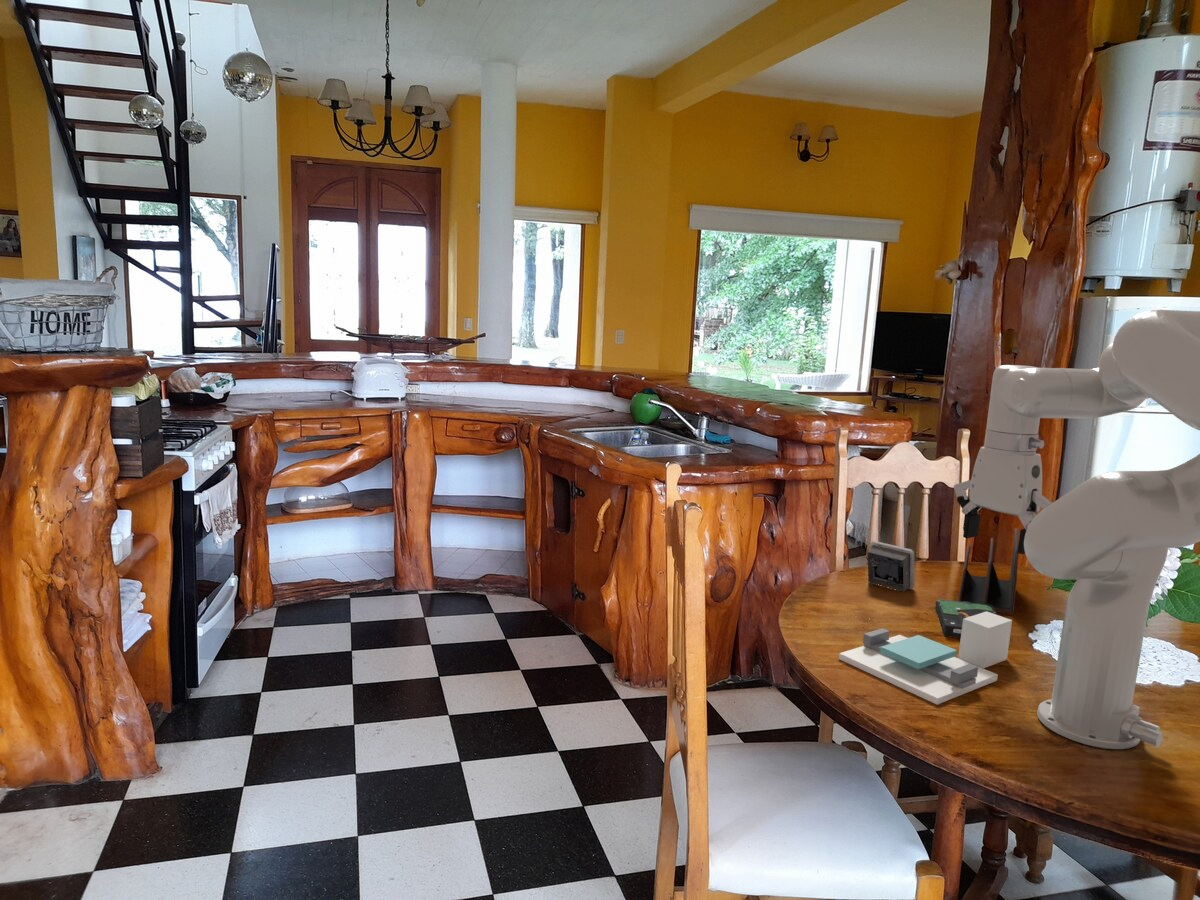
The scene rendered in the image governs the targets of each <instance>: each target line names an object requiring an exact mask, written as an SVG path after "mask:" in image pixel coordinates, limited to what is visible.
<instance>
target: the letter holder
mask: <svg viewBox="0 0 1200 900" xmlns="http://www.w3.org/2000/svg"><path fill="white" fill-rule="evenodd" d="M1019 537H1020V531H1019V528H1017V527H1015V528H1014V534H1013V545H1012V555H1011V557H1012V558H1011V566H1010V567H1011V568H1010V576H1009V580H1006V579H999V577H998V574H997V571H996V567H995V566H994V563H993V559H994V551H995V550H994V547H995V539H994V538H995V537H991V538H990V544H989V552H988V559H987V560H988V561H987V569H986V570H987V571H986V576H980V575H979V576H978V575H974V574H971V573H970V572H969V569H968V565H969V558H970V552H971V547H972V546H970V545H967V547H966V551H965V552H966V553H965V558H964V559H965V560H964V563H963V564H964V565H963V569H962V576H961V582H960V588H959V593H958V600H957V601H958V602H963V601H964V602H971V603H979V604H987V605H992V606H993V608H994V609H995V611H996V613H999V614H1003V615H1008V616H1009V615H1010V616H1013V614H1014V612H1015V599H1016V591H1017V590H1016V589H1017V582H1018V581H1017V580H1018V566H1019V555H1020V554H1019V553H1018V544H1019Z"/></svg>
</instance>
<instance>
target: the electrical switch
mask: <svg viewBox="0 0 1200 900" xmlns="http://www.w3.org/2000/svg"><path fill="white" fill-rule="evenodd" d="M866 553H867V576H868V577H867V578H868V579H867V580H868V582H867V583H868V584H870V583H871V585H874V584H877V585H878V584H879V585H882V586H884V587H883V588H885V587H889V588H892V589H896V590H899V591H898V592H900V591H903V592H902V593H905V592H906V591H907V590H909V589H911V590H910V591H912V590H913V589H914V588H915V586H916V585H915V584H916V582H915V581H916V580H915V579H916V577H915V575H916V574H915V564H916V563H915V551H914V550H913V549H911V548H906V547H902V546H898V545H894V544H890V543H889V544H888V543H884V542H880V541H876V540H873V541H871V542H870V543H869V550H867V552H866ZM887 583H888V584H887ZM877 585H876V586H877ZM889 588H888V589H889ZM892 589H891V590H892ZM896 590H895V591H896Z"/></svg>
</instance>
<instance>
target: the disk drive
mask: <svg viewBox="0 0 1200 900" xmlns="http://www.w3.org/2000/svg"><path fill="white" fill-rule="evenodd" d="M934 609H935V613H937V614H936V615H938V616H937V619H938V618H939V619H938V622H939V621H940V622H939V624H941V625H940V627H942V628H941V632H942V631H943V632H942V634H943V633H944V634H943V636H944V635H945V636H944V637H947V636H951V637H950V638H955V637H958V638H957V639H961V632H962V624H963V619H964V618H967V617H971V616H974V615H977V614H980V613H983V612H986V611H987V612H990V613H993V614H996V615H998V614H997V612H996V611H995V609H994V608H993V606H992V605H987V604H979V603H971V602H964V601H963V602H958V600H949V599H942V598H938V599H937V600H936V601H935V607H934Z"/></svg>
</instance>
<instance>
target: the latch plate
mask: <svg viewBox="0 0 1200 900" xmlns="http://www.w3.org/2000/svg"><path fill="white" fill-rule="evenodd" d="M906 638H907V639H904V640H901V641H898V642H894V643H891V644H888V645H885V646H882V647H881V649H880V653H882V654H884V655H887V656H889V657H891V658H893V659H896V660H898V661H900V662H903V663H905V664H907V665H910V666H912V667H914V668H916V669H921V668H924V667H927V666H929V665H932V664H935V663H938V662H941V661H944V660H946V659H949V658H952V657H957V652H958V651H957V649H955V648H952V647H950V646H947V645H945V644H942V643H940V642H937V641H934V640H932V639H929V638H928V637H924V636H922V635H919V634H917V635H914V636H911V637H906Z"/></svg>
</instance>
